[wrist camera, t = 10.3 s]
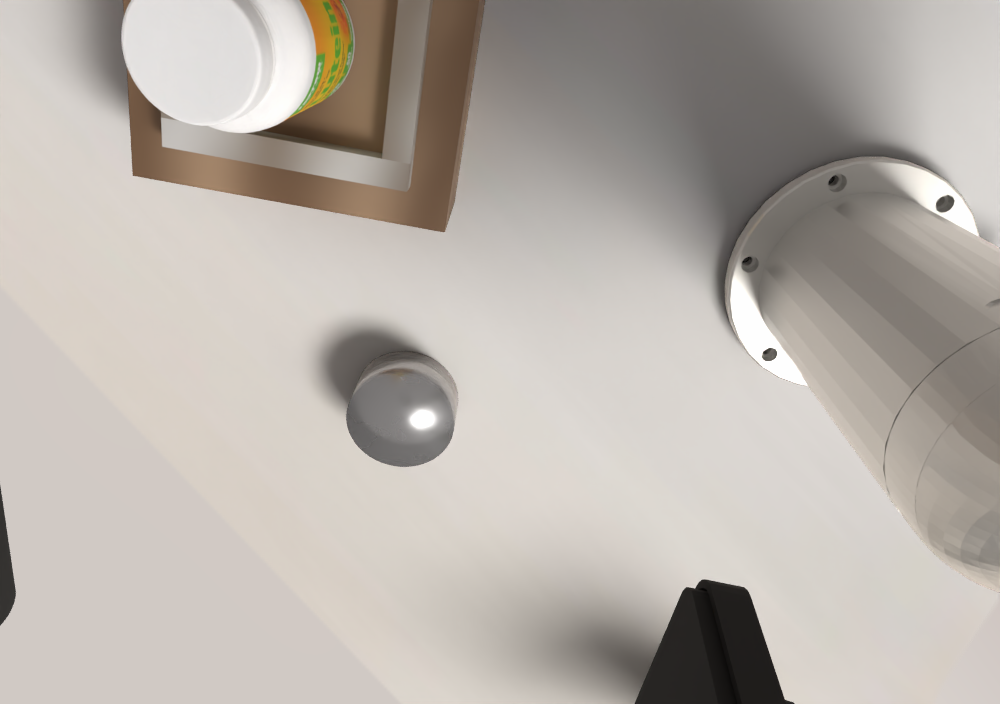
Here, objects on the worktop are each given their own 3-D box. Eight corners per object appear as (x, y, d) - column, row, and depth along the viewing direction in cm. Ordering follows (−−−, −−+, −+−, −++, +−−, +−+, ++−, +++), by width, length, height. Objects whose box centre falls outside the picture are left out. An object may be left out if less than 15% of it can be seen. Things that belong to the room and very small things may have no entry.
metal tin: (465, 359, 41) (461, 385, 38) (450, 444, 44) (445, 474, 41) (361, 342, 41) (350, 366, 38) (353, 428, 43) (342, 457, 41)
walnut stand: (502, -114, 31) (498, -137, 25) (454, 203, 37) (442, 239, 31) (173, -183, 30) (96, -222, 24) (181, 152, 36) (121, 180, 31)
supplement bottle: (354, 114, 30) (285, 164, 21) (226, 95, 30) (104, 137, 21) (360, -29, 28) (286, -38, 19) (222, -51, 27) (82, -70, 19)
